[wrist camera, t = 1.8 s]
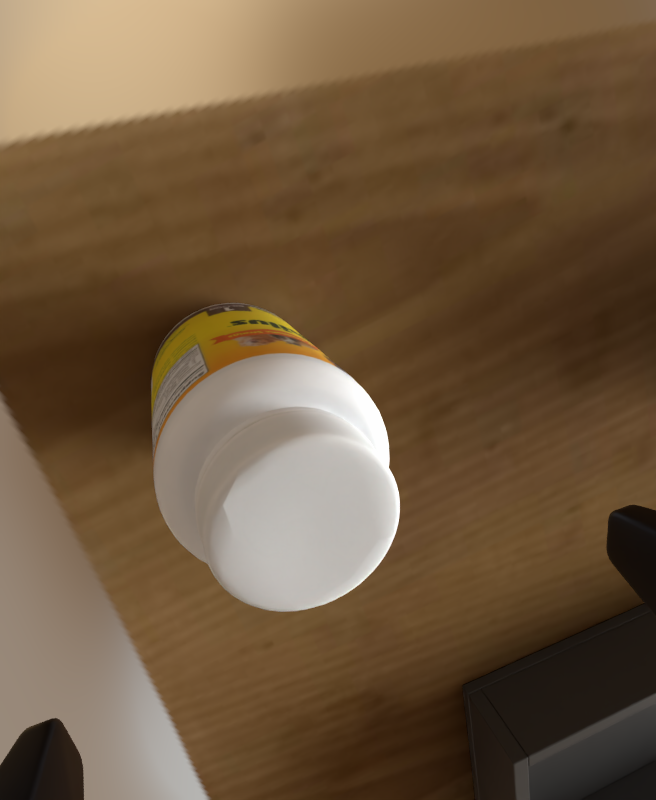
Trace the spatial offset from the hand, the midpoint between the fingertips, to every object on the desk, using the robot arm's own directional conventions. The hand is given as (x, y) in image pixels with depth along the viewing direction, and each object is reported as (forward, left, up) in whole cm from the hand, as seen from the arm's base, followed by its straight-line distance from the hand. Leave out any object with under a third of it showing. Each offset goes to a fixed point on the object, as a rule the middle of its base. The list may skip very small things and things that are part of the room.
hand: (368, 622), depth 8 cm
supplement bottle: (0, 0, -13) cm, 13 cm away
